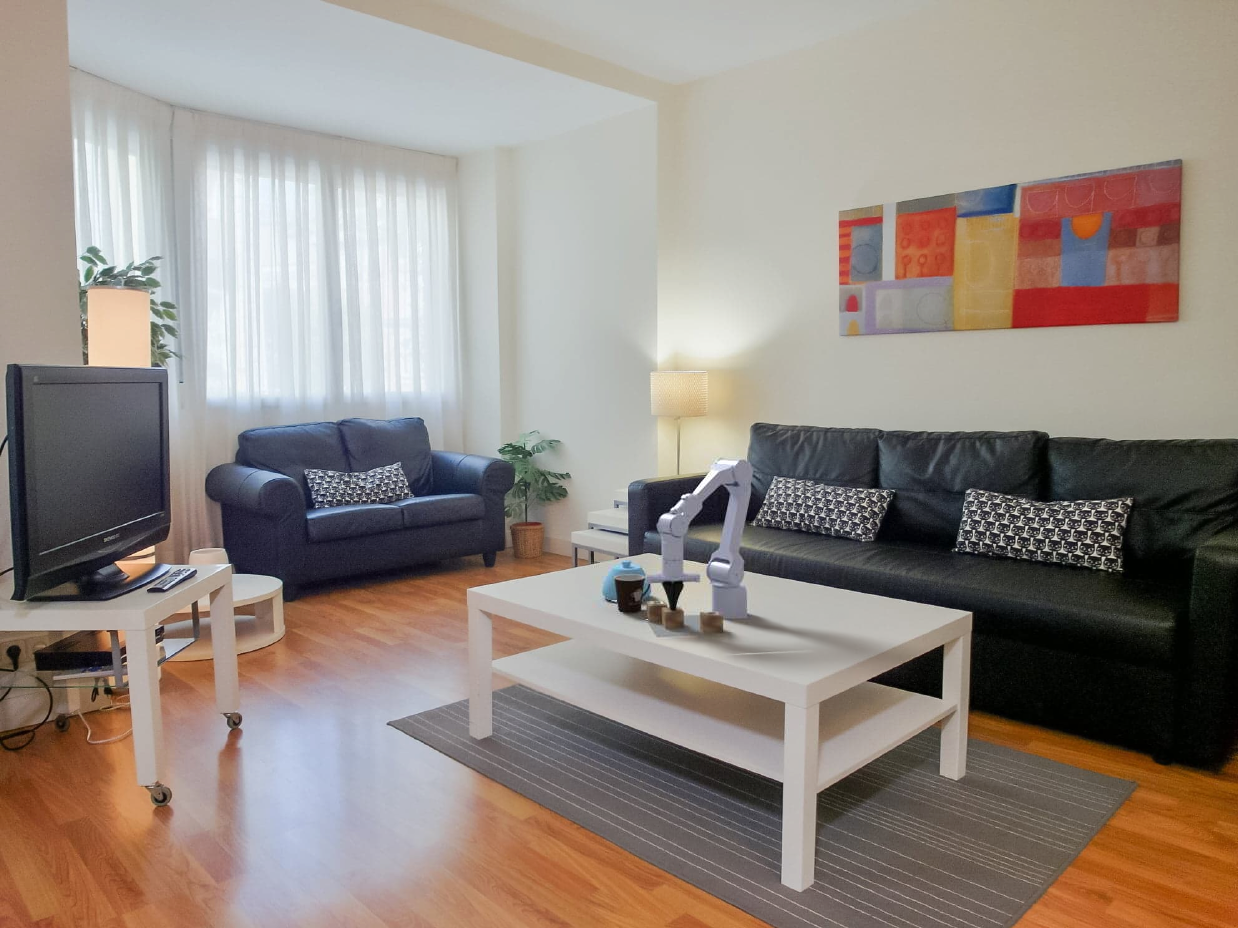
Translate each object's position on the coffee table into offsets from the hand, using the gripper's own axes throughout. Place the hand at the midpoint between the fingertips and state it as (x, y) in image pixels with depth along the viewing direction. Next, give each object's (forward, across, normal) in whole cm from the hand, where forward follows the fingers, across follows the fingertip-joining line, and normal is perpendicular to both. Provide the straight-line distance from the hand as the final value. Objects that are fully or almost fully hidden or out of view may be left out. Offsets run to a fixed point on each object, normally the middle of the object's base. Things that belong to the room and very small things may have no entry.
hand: (672, 609), depth 236 cm
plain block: (+4, 0, 0) cm, 4 cm away
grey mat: (+5, +3, 0) cm, 6 cm away
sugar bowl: (+5, -8, +36) cm, 37 cm away
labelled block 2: (+4, +9, -6) cm, 12 cm away
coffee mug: (+5, -8, +19) cm, 21 cm away
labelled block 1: (+4, -3, +8) cm, 9 cm away
